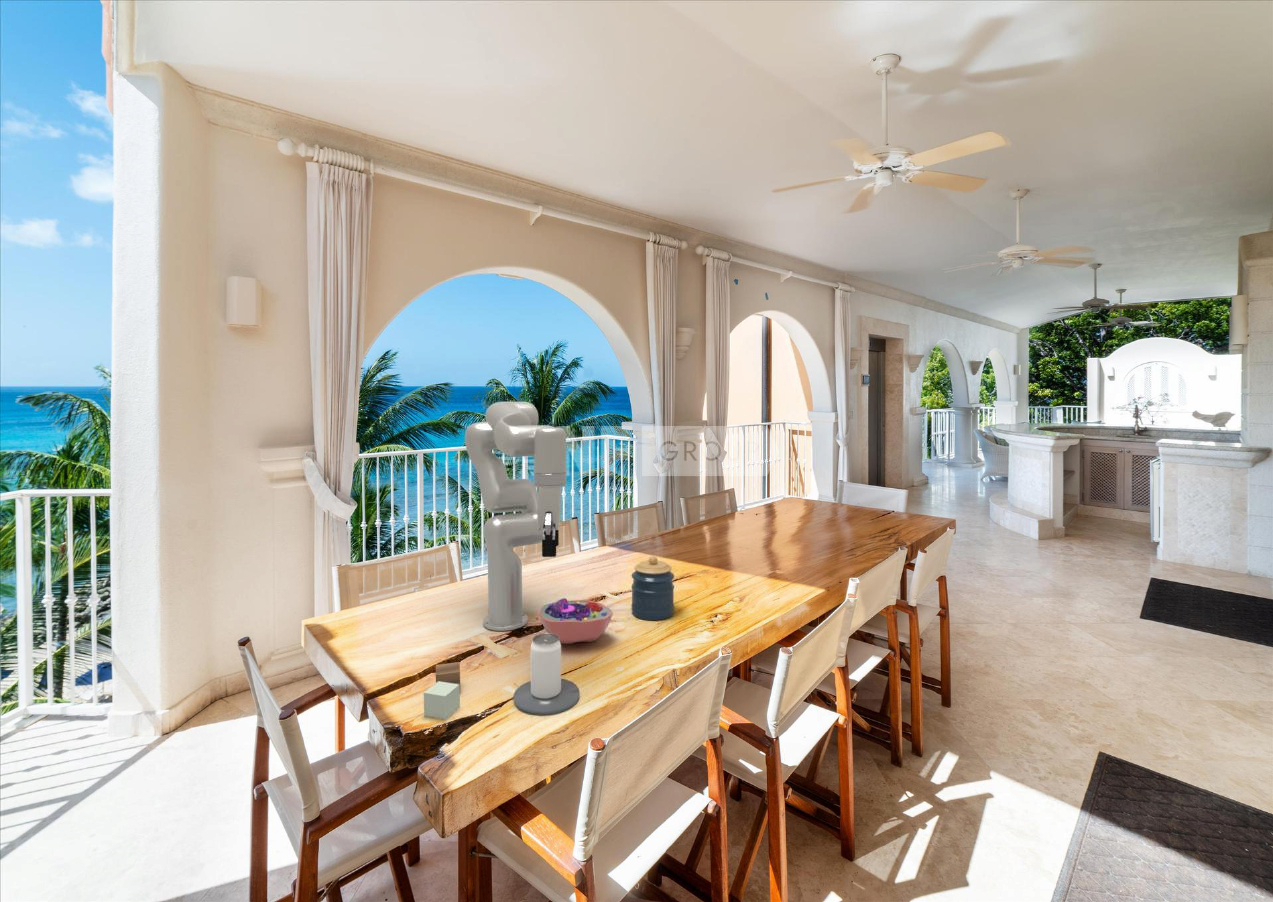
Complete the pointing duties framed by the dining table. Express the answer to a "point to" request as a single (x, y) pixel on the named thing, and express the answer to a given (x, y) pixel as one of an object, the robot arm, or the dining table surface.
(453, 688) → the sage block
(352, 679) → the dining table surface
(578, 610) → the cell model
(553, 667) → the can
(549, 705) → the trivet
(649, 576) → the canister
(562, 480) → the robot arm
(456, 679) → the walnut block
